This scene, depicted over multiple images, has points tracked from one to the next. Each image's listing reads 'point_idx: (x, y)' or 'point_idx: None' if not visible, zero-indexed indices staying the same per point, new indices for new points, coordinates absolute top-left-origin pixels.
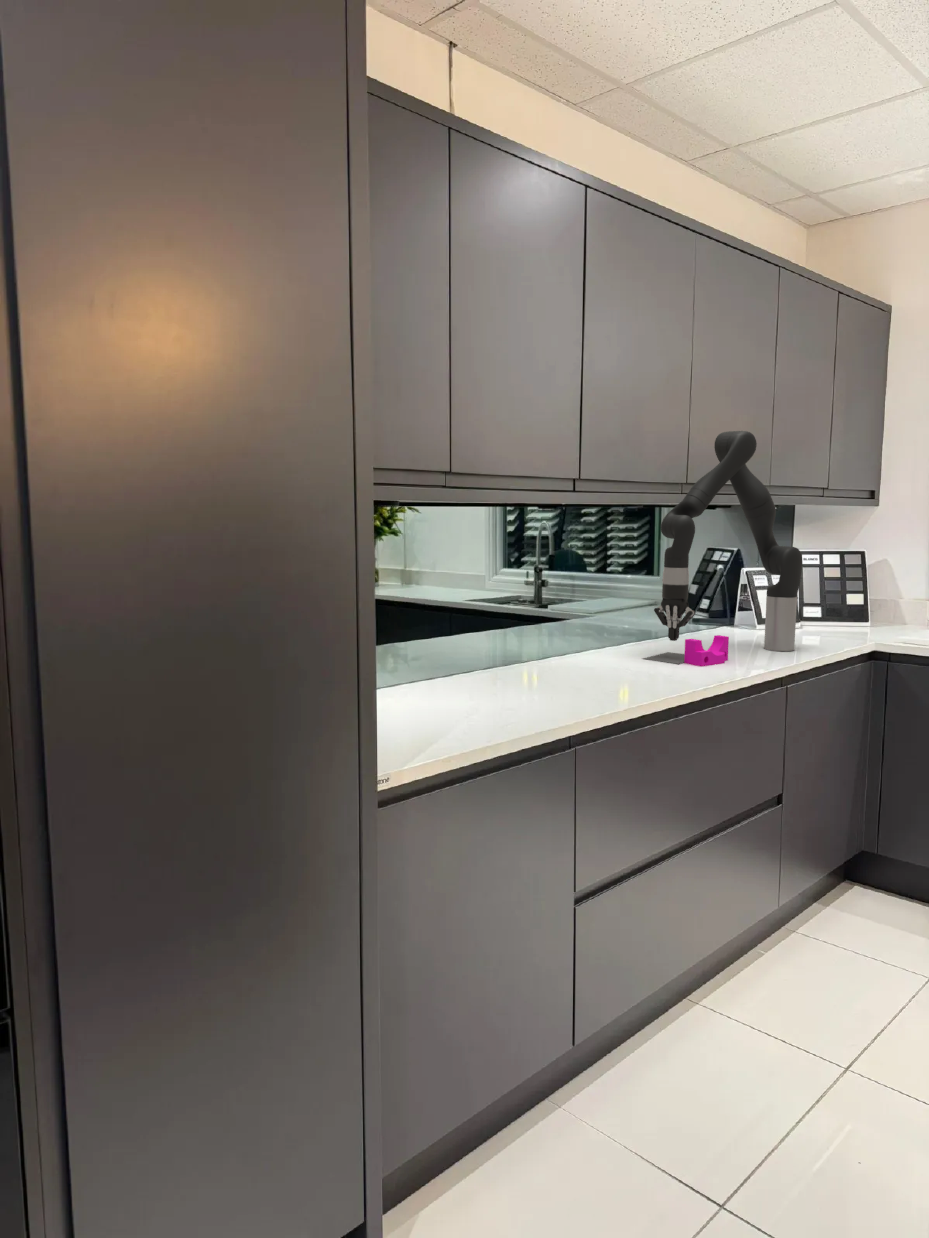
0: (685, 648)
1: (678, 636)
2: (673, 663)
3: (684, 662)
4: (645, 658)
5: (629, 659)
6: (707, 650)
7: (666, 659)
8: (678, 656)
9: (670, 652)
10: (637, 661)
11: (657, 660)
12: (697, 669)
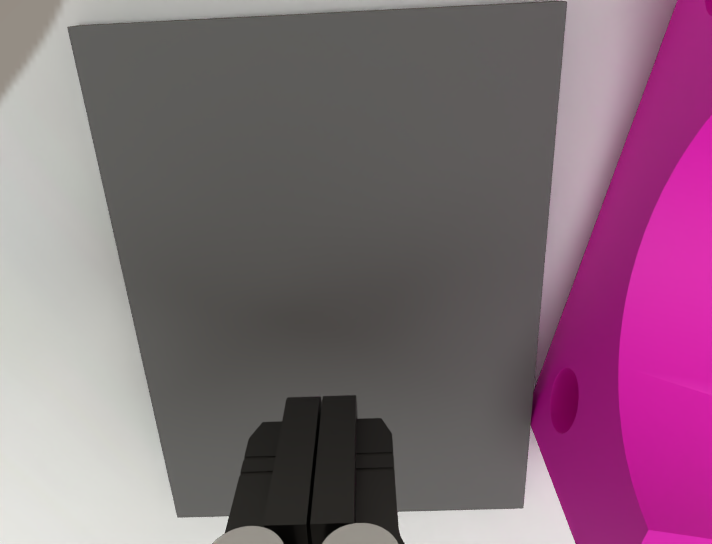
0: (576, 524)
1: (391, 451)
2: (476, 506)
3: (531, 421)
4: (189, 491)
5: (76, 513)
6: (703, 140)
7: None
8: (337, 212)
9: (105, 27)
10: (179, 538)
11: None
12: None
